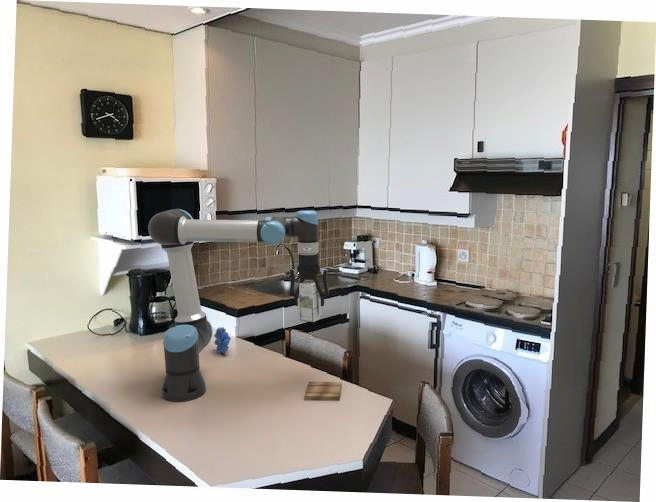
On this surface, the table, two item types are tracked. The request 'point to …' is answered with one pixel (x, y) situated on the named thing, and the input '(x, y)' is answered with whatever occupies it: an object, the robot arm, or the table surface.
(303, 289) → the syrup box
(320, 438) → the table surface
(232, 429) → the table surface
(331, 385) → the square wooden board
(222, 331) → the grapes
